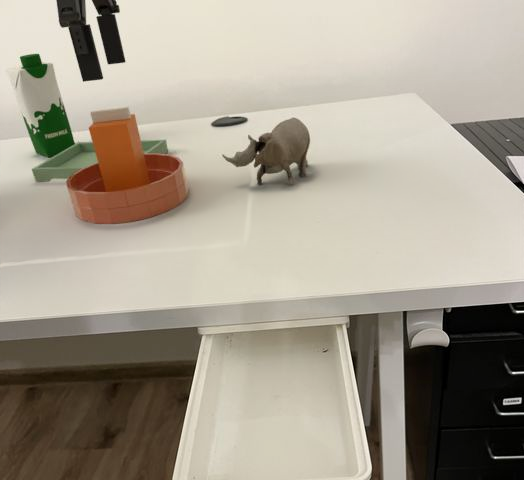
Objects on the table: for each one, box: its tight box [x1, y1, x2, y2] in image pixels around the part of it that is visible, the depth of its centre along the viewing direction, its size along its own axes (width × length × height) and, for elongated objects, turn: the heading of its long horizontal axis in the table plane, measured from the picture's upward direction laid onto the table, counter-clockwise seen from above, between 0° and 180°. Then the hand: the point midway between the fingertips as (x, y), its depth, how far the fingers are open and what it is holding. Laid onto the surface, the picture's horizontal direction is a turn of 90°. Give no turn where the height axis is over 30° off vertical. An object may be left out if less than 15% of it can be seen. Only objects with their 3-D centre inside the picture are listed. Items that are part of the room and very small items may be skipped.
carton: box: [88, 106, 150, 192], centre depth 89 cm, size 6×6×15 cm
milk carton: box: [5, 53, 76, 159], centre depth 122 cm, size 9×9×20 cm
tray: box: [31, 139, 169, 182], centre depth 113 cm, size 22×18×2 cm
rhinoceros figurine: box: [221, 116, 311, 186], centre depth 94 cm, size 8×14×15 cm
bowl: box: [65, 153, 189, 225], centre depth 92 cm, size 19×19×6 cm
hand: (105, 71), depth 81 cm, fingers open, 13 cm apart
